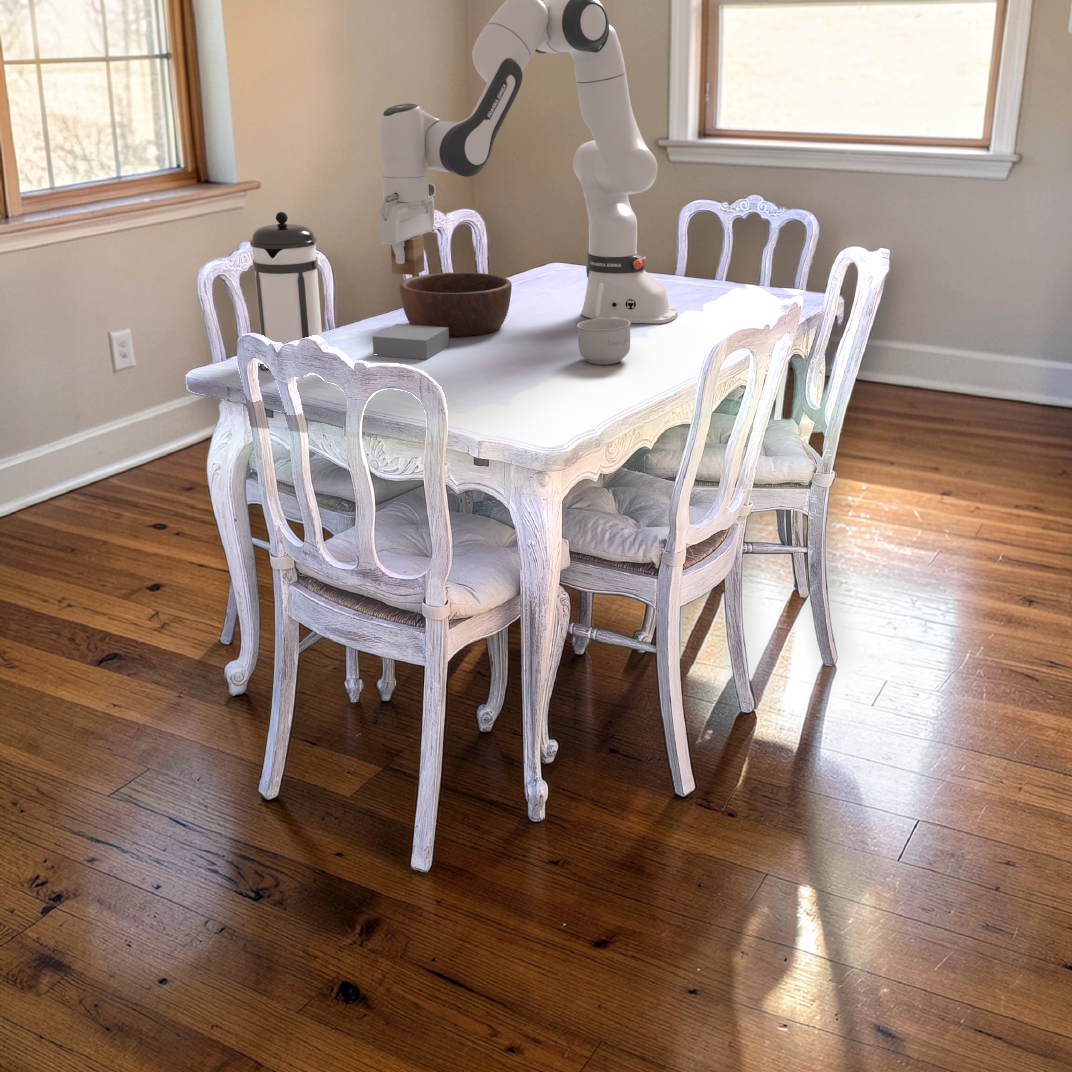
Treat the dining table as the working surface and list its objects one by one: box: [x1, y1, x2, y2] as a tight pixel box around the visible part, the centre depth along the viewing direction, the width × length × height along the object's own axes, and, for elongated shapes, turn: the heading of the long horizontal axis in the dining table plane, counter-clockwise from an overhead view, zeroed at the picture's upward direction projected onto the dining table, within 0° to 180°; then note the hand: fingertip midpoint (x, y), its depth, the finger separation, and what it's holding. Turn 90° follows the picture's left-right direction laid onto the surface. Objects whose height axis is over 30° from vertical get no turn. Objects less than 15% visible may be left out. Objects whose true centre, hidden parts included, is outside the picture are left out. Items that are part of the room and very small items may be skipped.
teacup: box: [576, 317, 632, 366], centre depth 246 cm, size 14×11×8 cm
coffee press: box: [249, 211, 323, 371], centre depth 240 cm, size 17×16×30 cm
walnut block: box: [390, 235, 426, 276], centre depth 247 cm, size 5×5×7 cm
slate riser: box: [372, 323, 450, 361], centre depth 254 cm, size 12×12×4 cm
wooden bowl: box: [399, 271, 513, 338], centre depth 273 cm, size 25×25×10 cm
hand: (407, 260), depth 247 cm, fingers closed on walnut block, 5 cm apart
